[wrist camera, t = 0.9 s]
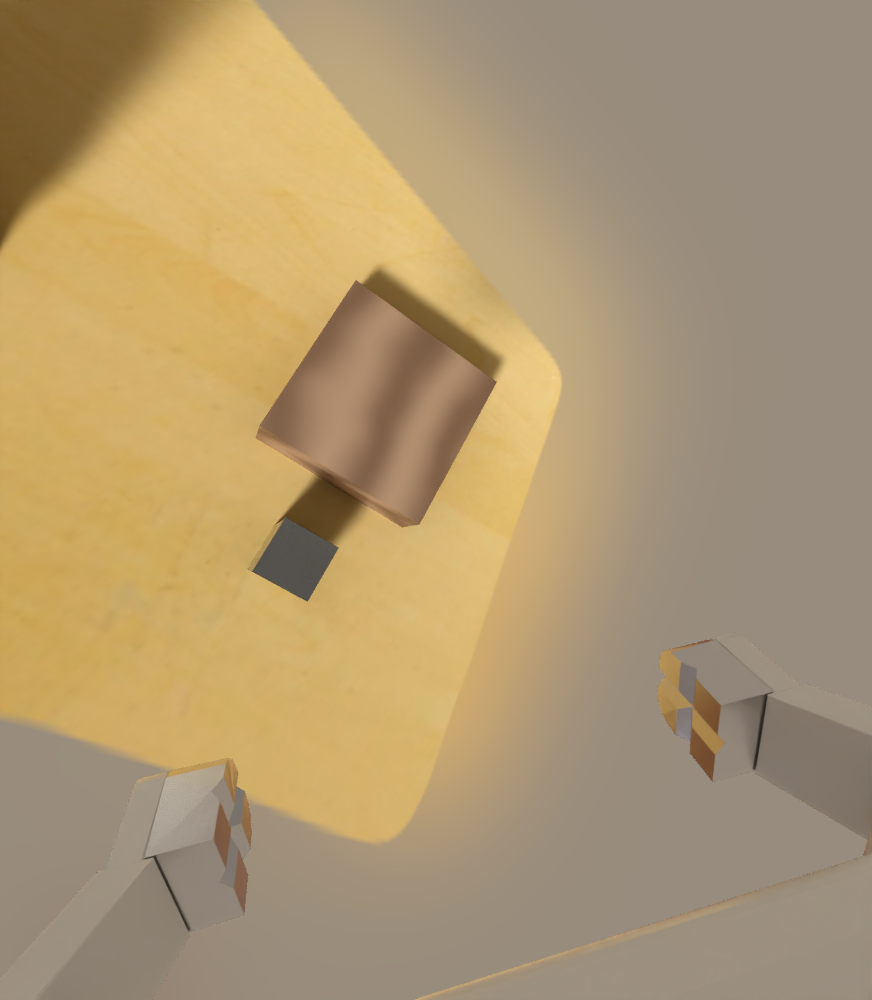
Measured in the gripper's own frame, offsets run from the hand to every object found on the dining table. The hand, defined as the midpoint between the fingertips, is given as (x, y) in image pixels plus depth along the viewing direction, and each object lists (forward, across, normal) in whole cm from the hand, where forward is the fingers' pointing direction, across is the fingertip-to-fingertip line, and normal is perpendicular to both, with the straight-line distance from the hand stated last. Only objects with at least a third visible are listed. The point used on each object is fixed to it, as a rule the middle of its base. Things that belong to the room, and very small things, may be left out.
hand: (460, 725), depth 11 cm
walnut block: (+41, -2, +5) cm, 41 cm away
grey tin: (+34, +7, +13) cm, 37 cm away
